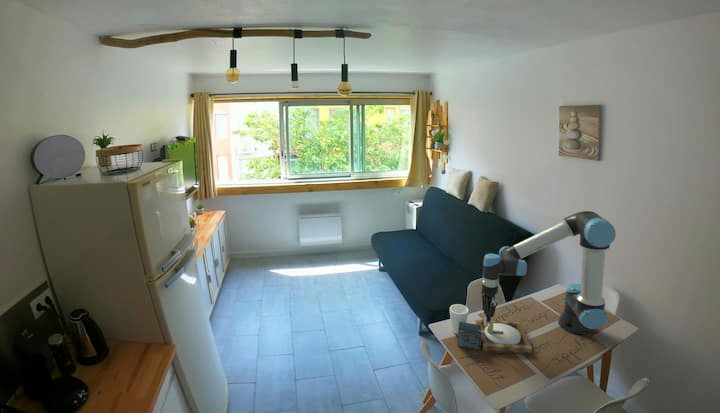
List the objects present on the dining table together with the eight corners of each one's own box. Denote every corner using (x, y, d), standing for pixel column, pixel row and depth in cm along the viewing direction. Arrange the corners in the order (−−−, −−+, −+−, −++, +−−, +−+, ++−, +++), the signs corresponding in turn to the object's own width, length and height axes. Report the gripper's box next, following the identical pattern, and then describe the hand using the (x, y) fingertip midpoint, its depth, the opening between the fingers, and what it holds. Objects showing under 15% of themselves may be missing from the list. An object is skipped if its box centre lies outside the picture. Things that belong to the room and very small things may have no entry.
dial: (515, 327, 194) (516, 316, 192) (524, 348, 177) (526, 336, 176) (481, 325, 196) (482, 314, 194) (487, 346, 180) (488, 334, 178)
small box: (480, 342, 185) (481, 324, 182) (479, 350, 179) (481, 332, 176) (458, 339, 188) (459, 320, 185) (457, 346, 182) (458, 328, 180)
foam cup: (467, 337, 189) (469, 314, 186) (449, 335, 191) (450, 313, 188) (466, 326, 198) (467, 304, 195) (448, 324, 200) (449, 303, 196)
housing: (518, 327, 196) (519, 320, 195) (531, 354, 175) (532, 347, 174) (475, 325, 199) (476, 318, 198) (483, 352, 178) (483, 345, 177)
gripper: (477, 278, 189) (474, 319, 196) (488, 291, 177) (485, 334, 183) (491, 277, 190) (488, 318, 197) (503, 290, 178) (500, 332, 184)
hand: (486, 325), depth 190 cm, fingers closed
